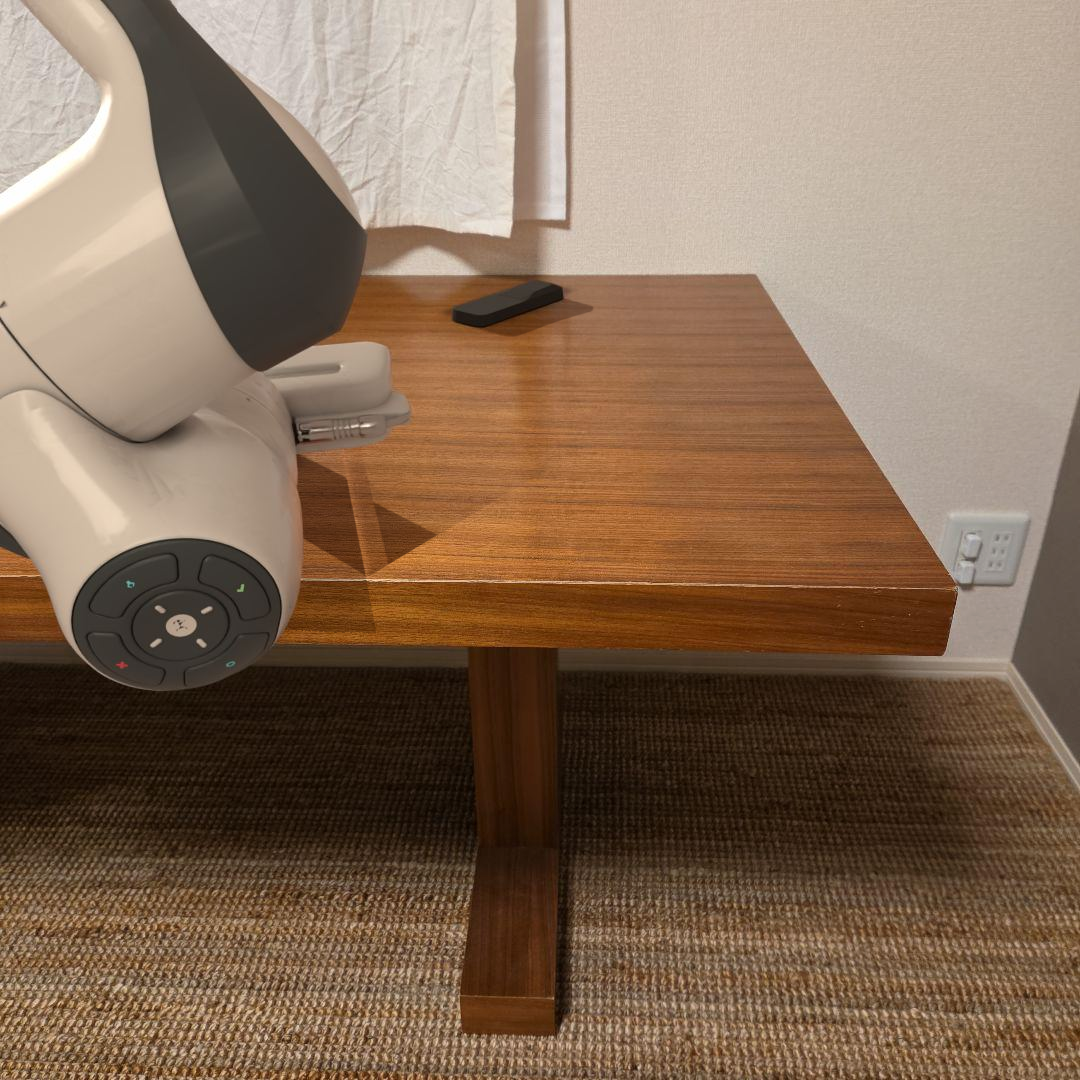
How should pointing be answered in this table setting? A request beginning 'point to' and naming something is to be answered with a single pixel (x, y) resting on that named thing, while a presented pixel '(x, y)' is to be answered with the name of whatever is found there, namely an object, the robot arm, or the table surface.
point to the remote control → (507, 303)
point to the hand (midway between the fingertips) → (211, 358)
